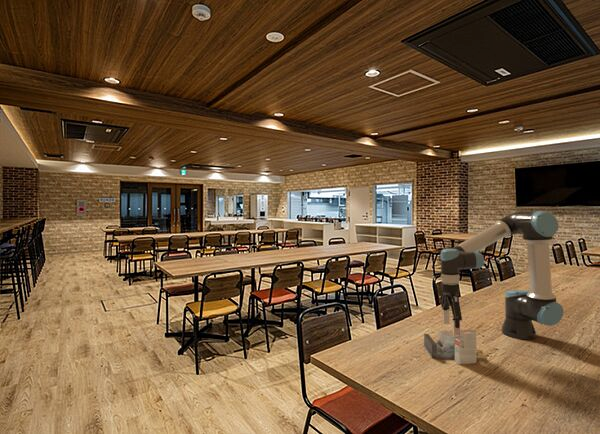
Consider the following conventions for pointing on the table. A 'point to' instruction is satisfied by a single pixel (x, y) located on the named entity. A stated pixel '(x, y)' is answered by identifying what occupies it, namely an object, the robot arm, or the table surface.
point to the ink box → (466, 347)
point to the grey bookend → (436, 349)
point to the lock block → (447, 340)
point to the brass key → (481, 355)
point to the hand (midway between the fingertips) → (451, 328)
